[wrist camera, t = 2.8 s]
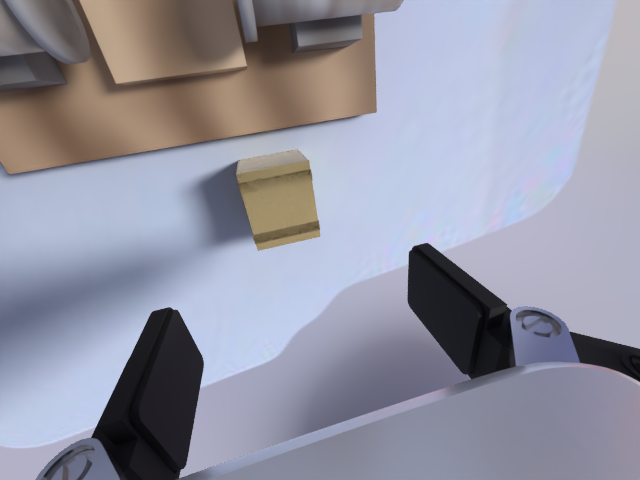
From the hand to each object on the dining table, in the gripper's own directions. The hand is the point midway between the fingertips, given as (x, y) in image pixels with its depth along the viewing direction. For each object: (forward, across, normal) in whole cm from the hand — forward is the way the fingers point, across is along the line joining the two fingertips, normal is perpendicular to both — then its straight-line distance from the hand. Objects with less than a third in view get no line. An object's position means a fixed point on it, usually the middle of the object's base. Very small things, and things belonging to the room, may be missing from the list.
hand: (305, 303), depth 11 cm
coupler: (+15, 0, 0) cm, 15 cm away
